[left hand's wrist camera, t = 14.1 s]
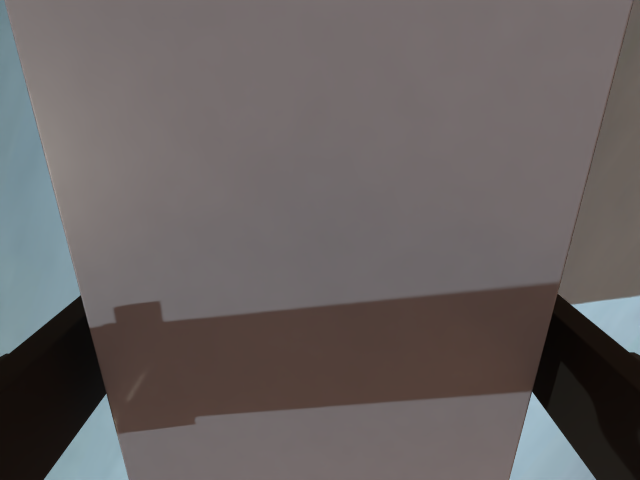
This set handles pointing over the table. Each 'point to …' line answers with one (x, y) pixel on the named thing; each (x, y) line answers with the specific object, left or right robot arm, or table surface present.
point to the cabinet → (318, 220)
